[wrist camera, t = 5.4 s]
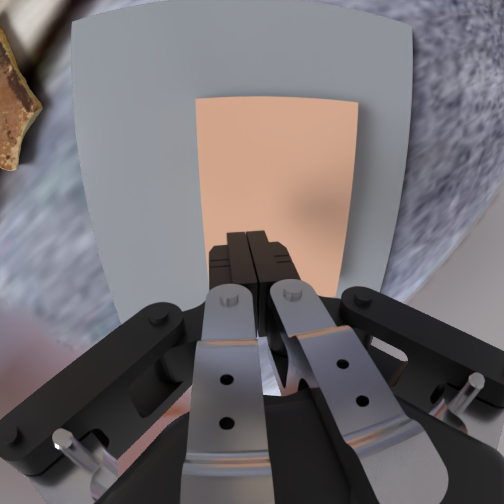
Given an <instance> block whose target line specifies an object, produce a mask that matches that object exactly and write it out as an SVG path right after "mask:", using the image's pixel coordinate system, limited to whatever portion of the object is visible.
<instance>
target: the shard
mask: <svg viewBox="0 0 504 504" xmlns="http://www.w3.org/2000/svg"><path fill="white" fill-rule="evenodd" d="M42 109H43V107H42V105H41V103H40V101H39V100H38V99H37V98H36V97H35V95H34V94H33V92H32V91H31V90H30V88H29V86H28V85H27V81H26V79H25V78H24V77H23V76H22V74H21V73H20V71H19V69H18V65H17V62H16V59H15V57H14V54H13V52H12V50H11V48H10V45H9V43H8V41H7V38H6V35H5V33H4V31H3V30H2V28H0V168H2V169H5V170H8V171H13V170H17V169H18V163H19V154H20V150H21V143H22V140H23V138H24V136H25V134H26V132H27V130H28V129H29V127H30V126H31V124H32V123H33V122H34V121H35V119H36V117H37V116H38V115H39V114H40V112H41V111H42Z"/></svg>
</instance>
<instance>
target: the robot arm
mask: <svg viewBox="0 0 504 504" xmlns="http://www.w3.org/2000/svg"><path fill="white" fill-rule="evenodd" d="M226 237H227V245H216V246H213V248H212V249H211V250H210V252H209V292H208V293H207V295H206V300H205V301H204V302H203V303H202V304H201V305H199V306H197V307H195V308H192V309H189V310H186V311H182V310H181V309H180V308H179V307H178V306H177V305H175V304H173V303H169V302H157V303H153V304H150V305H148V306H146V307H144V308H143V309H141V310H140V311H139V312H138V313H136V314H135V315H134V316H132V317H131V318H130V319H128V320H127V321H126V322H124V323H123V324H122V325H120V326H119V327H118V328H116V329H115V330H114V331H112V332H111V333H110V334H109V335H107V336H106V337H105V338H103V339H102V340H101V341H99V342H98V343H97V344H95V345H94V346H93V347H92V348H90V349H89V350H88V351H86V352H85V353H84V354H83V355H81V356H80V357H79V358H77V359H76V360H75V361H73V362H72V363H71V364H70V365H68V366H67V367H66V368H65V369H63V370H62V371H61V372H59V373H58V374H57V375H56V376H54V377H53V378H52V379H51V380H49V381H48V382H47V383H45V384H44V385H43V386H42V387H40V388H39V389H38V390H37V391H35V392H34V393H33V394H32V395H30V396H29V397H28V398H27V399H25V400H24V401H23V402H22V403H21V404H19V405H18V406H17V407H15V408H14V409H13V410H12V411H11V412H9V413H8V414H7V415H6V416H4V417H3V418H2V419H1V420H0V457H1V458H2V459H4V460H5V461H6V462H8V463H9V464H10V465H12V466H13V467H14V468H16V469H17V471H18V472H20V473H21V474H22V475H24V476H25V477H27V478H28V479H29V480H30V482H31V483H32V485H33V486H34V487H35V489H36V490H37V491H38V493H39V494H40V495H41V497H42V498H43V499H44V501H45V502H46V503H47V504H504V457H503V456H502V455H501V454H500V453H499V452H498V451H497V447H498V443H499V439H500V436H501V432H502V428H503V424H504V351H502V350H500V349H498V348H496V347H494V346H492V345H490V344H488V343H485V342H484V341H482V340H480V339H477V338H475V337H473V336H471V335H469V334H467V333H465V332H463V331H461V330H459V329H457V328H454V327H452V326H450V325H448V324H446V323H444V322H442V321H440V320H437V319H435V318H433V317H431V316H429V315H427V314H425V313H422V312H420V311H418V310H416V309H414V308H411V307H410V306H407V305H405V304H403V303H401V302H399V301H397V300H394V299H392V298H390V297H388V296H386V295H384V294H381V293H379V292H377V291H375V290H373V289H370V288H367V287H362V286H354V287H350V288H347V289H346V290H344V291H343V293H342V295H341V299H340V298H331V297H323V296H319V295H317V293H316V292H315V290H314V289H313V287H312V286H311V285H310V284H308V283H306V282H304V281H302V280H301V278H300V276H299V274H298V272H297V270H296V267H295V265H294V263H293V262H292V259H291V257H290V254H289V252H288V250H287V248H286V247H285V246H284V245H282V244H281V243H280V242H278V241H277V242H269V241H268V238H267V236H266V233H265V231H264V230H260V231H246V234H245V231H244V232H228V233H226ZM257 330H258V335H259V337H264V336H267V340H268V356H269V359H270V362H271V365H272V368H273V371H274V374H275V377H276V380H277V383H278V386H279V389H280V392H281V396H270V395H263V391H262V380H261V370H260V359H259V348H258V340H257V339H256V337H257ZM373 336H374V337H376V338H378V339H380V340H382V341H384V342H386V343H388V344H390V345H392V346H394V347H395V348H397V349H399V350H402V351H403V352H404V353H405V354H406V355H407V358H408V361H405V362H404V361H400V360H399V359H397V358H395V357H393V356H391V355H389V354H387V353H385V352H383V351H381V350H379V349H377V348H376V347H374V346H372V345H371V342H372V339H373ZM191 385H192V392H191V403H190V411H189V412H187V413H186V414H184V415H182V416H180V417H179V418H177V419H175V420H174V421H173V422H171V424H169V425H168V426H167V427H166V428H165V429H164V430H163V431H162V432H161V433H160V434H159V435H158V436H157V437H156V439H155V440H154V441H153V442H152V443H151V444H150V445H149V446H148V447H147V449H146V450H145V451H144V452H143V453H142V454H141V455H140V456H139V457H138V458H137V459H136V460H135V461H134V463H133V464H132V465H131V466H130V467H129V468H128V469H127V470H126V471H125V472H124V473H123V474H122V475H121V476H120V477H119V478H118V479H117V477H118V473H119V468H118V463H117V459H118V458H119V457H120V456H121V455H122V454H123V453H125V451H127V449H129V448H130V447H131V445H133V444H134V443H135V442H136V441H137V440H138V439H139V438H140V437H141V436H142V435H143V434H144V433H145V432H146V431H147V430H148V429H149V428H150V427H151V426H152V425H153V424H154V423H155V422H156V421H157V420H158V419H159V418H160V417H161V416H162V415H163V414H164V413H165V412H166V411H167V410H168V409H169V408H170V407H171V406H172V405H173V404H174V403H175V402H176V401H177V400H178V399H179V398H180V397H181V396H182V395H183V393H184V392H185V391H186V390H187V389H188V388H189V387H190V386H191ZM116 479H117V480H116Z"/></svg>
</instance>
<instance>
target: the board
mask: <svg viewBox="0 0 504 504" xmlns="http://www.w3.org/2000/svg"><path fill="white" fill-rule="evenodd" d="M71 73H72V95H73V109H74V120H75V130H76V139H77V147H78V154H79V161H80V167H81V173H82V179H83V185H84V190H85V195H86V200H87V205H88V210H89V215H90V219H91V223H92V228H93V232H94V236H95V240H96V244H97V248H98V252H99V255H100V259H101V263H102V266H103V270H104V273H105V276H106V280H107V283H108V286H109V289H110V292H111V296H112V299H113V302H114V305H115V308H116V311H117V313H118V316H119V319H120V322H121V325H122V324H123V323H124V322H126V321H127V320H128V319H130V318H131V317H132V316H134V315H135V314H136V313H138V312H139V311H140V310H141V309H143V308H144V307H146V306H148V305H150V304H153V303H157V302H169V303H173V304H175V305H177V306H178V307H179V308H180V309H181V310H182V311H186V310H189V309H192V308H195V307H197V306H199V305H201V304H202V303H203V302H204V301H205V300H206V295H207V293H208V292H209V282H208V272H207V263H206V252H205V242H204V230H203V219H202V206H201V193H200V178H199V163H198V145H197V125H196V101H195V99H199V98H215V97H243V96H274V97H302V98H318V99H330V100H341V101H350V102H358V120H357V136H356V150H355V162H354V172H353V182H352V192H351V200H350V209H349V216H348V224H347V231H346V238H345V245H344V251H343V258H342V264H341V270H340V275H339V281H338V287H337V292H336V296H335V297H331V298H340V299H341V295H342V293H343V291H344V290H346V289H347V288H350V287H354V286H362V287H367V288H370V289H373V290H375V291H377V292H379V293H380V289H381V285H382V282H383V278H384V274H385V270H386V266H387V262H388V258H389V254H390V249H391V245H392V240H393V236H394V231H395V226H396V221H397V216H398V210H399V205H400V199H401V193H402V187H403V180H404V173H405V166H406V158H407V150H408V141H409V130H410V118H411V103H412V78H413V44H412V25H409V24H406V23H403V22H400V21H396V20H393V19H390V18H386V17H383V16H379V15H375V14H372V13H368V12H364V11H359V10H355V9H351V8H346V7H341V6H336V5H330V4H324V3H318V2H311V1H303V0H168V1H161V2H154V3H147V4H142V5H136V6H131V7H126V8H121V9H117V10H113V11H108V12H104V13H100V14H97V15H93V16H89V17H86V18H83V19H79V20H76V21H73V22H72V35H71Z"/></svg>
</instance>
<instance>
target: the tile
mask: <svg viewBox="0 0 504 504" xmlns="http://www.w3.org/2000/svg"><path fill="white" fill-rule="evenodd" d="M195 101H196V125H197V145H198V163H199V178H200V193H201V206H202V219H203V230H204V242H205V252H206V263H207V272H208V282H209V252H210V250H211V249H212V248H213V246H216V245H227V237H226V233H228V232H244V231H245V234H246V231H260V230H264V231H265V233H266V236H267V238H268V241H269V242H277V241H278V242H280V243H281V244H282V245H284V246H285V247H286V248H287V250H288V252H289V254H290V257H291V259H292V262H293V263H294V265H295V267H296V270H297V272H298V274H299V276H300V278H301V280H302V281H304V282H306V283H308V284H310V285H311V286H312V287H313V289H314V290H315V292H316V293H317V295H319V296H323V297H335V296H336V292H337V287H338V281H339V275H340V270H341V264H342V258H343V251H344V245H345V238H346V231H347V224H348V216H349V209H350V200H351V192H352V182H353V172H354V162H355V150H356V136H357V120H358V102H350V101H341V100H330V99H318V98H302V97H274V96H243V97H215V98H199V99H195Z"/></svg>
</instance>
